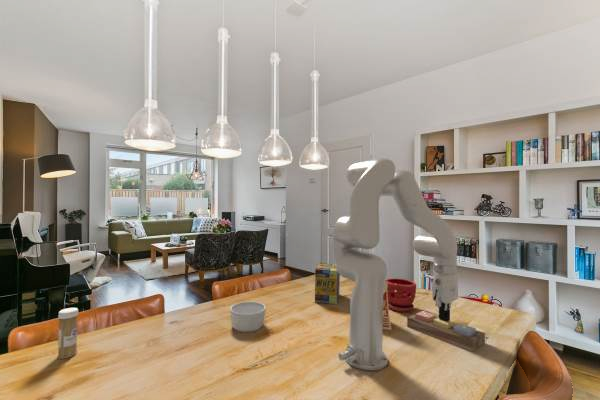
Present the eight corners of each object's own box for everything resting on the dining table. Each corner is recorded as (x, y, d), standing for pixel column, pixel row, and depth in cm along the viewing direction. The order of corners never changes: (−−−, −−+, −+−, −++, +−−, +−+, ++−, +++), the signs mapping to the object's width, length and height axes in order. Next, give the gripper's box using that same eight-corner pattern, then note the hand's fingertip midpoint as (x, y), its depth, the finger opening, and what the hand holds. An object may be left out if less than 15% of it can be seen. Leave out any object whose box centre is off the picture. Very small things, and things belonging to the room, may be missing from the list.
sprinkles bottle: (72, 358, 84) (73, 312, 84) (53, 360, 83) (54, 313, 83) (80, 350, 89) (81, 306, 89) (63, 352, 88) (64, 307, 88)
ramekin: (272, 326, 109) (273, 307, 109) (243, 337, 99) (244, 317, 99) (251, 316, 118) (251, 298, 118) (222, 325, 108) (223, 307, 108)
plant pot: (420, 314, 123) (421, 285, 123) (389, 313, 123) (389, 285, 123) (409, 303, 136) (409, 277, 136) (381, 302, 136) (381, 277, 136)
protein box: (314, 302, 135) (314, 269, 135) (319, 292, 150) (319, 262, 150) (337, 304, 132) (337, 270, 132) (339, 294, 147) (340, 263, 147)
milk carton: (391, 330, 107) (392, 275, 107) (366, 327, 109) (366, 274, 109) (389, 320, 116) (389, 270, 116) (365, 317, 118) (366, 268, 118)
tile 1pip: (468, 342, 95) (469, 331, 95) (453, 337, 99) (453, 326, 99) (475, 338, 98) (475, 327, 98) (460, 333, 102) (460, 322, 102)
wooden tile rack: (471, 351, 92) (471, 341, 92) (407, 326, 110) (407, 317, 110) (484, 343, 98) (484, 333, 98) (421, 320, 116) (421, 311, 116)
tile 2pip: (447, 334, 100) (447, 324, 101) (433, 329, 104) (433, 319, 104) (454, 331, 104) (454, 320, 104) (440, 326, 107) (440, 316, 108)
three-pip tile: (428, 327, 106) (428, 317, 106) (415, 322, 110) (415, 313, 110) (435, 324, 109) (435, 314, 109) (422, 319, 113) (422, 310, 113)
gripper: (445, 274, 97) (444, 329, 97) (465, 268, 106) (464, 318, 106) (423, 269, 103) (423, 321, 103) (444, 264, 112) (444, 312, 112)
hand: (444, 319), depth 104 cm, fingers closed
